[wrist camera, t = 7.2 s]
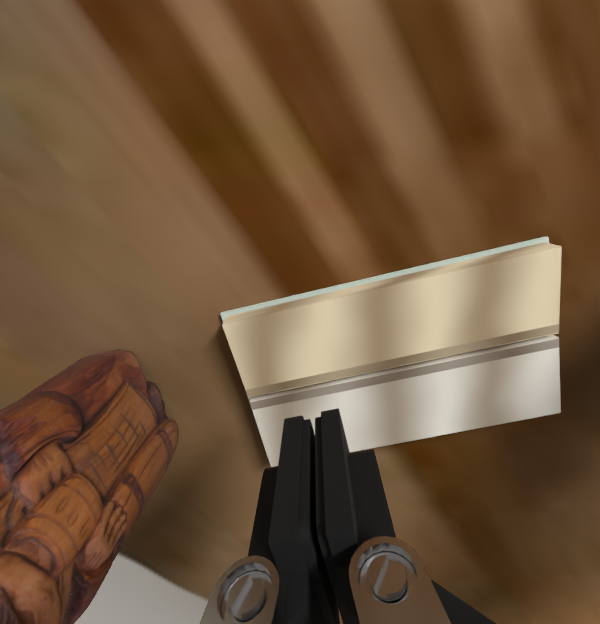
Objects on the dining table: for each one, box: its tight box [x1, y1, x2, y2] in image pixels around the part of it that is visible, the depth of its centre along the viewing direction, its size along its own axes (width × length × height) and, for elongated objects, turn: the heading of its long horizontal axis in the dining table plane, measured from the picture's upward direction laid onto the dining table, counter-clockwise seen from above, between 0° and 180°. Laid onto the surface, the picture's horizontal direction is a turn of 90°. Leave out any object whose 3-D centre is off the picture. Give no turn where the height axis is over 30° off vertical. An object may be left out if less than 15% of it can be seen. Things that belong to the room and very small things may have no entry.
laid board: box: [250, 335, 561, 467], centre depth 23 cm, size 20×6×1 cm, turn 104°
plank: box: [222, 242, 562, 398], centre depth 22 cm, size 20×6×1 cm, turn 104°
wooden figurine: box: [0, 350, 178, 624], centre depth 17 cm, size 12×6×18 cm, turn 15°
